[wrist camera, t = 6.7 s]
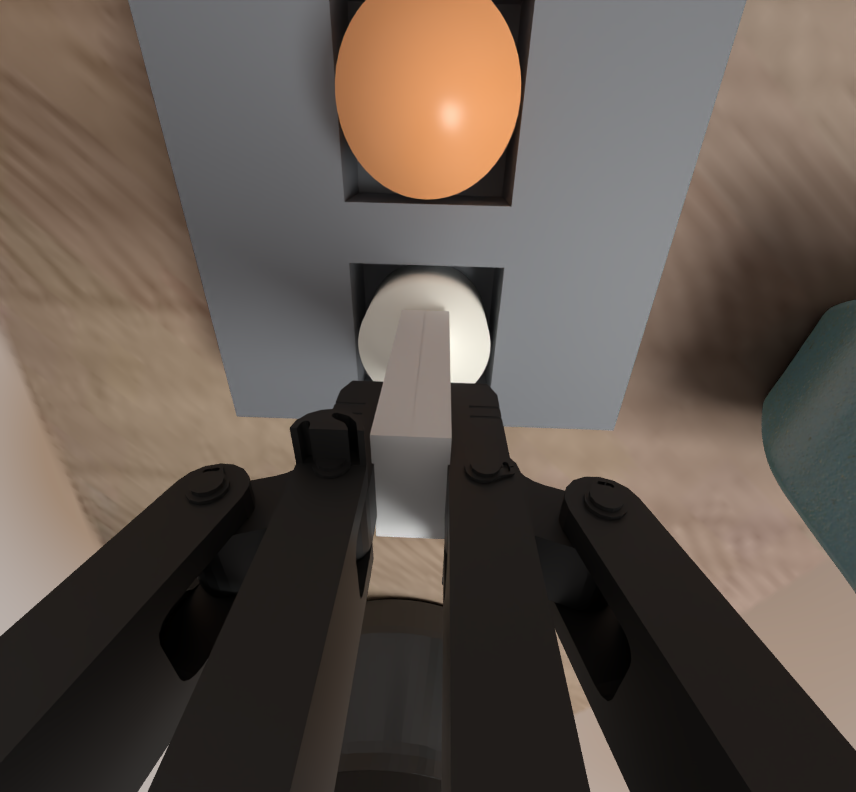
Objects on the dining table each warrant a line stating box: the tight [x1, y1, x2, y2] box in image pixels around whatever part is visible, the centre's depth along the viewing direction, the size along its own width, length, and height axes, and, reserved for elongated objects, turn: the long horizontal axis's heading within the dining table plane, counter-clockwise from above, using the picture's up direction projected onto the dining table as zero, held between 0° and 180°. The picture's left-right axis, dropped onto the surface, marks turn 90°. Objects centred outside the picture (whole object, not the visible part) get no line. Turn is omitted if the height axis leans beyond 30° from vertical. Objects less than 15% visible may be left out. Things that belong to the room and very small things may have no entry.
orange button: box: [335, 0, 521, 200], centre depth 11 cm, size 4×4×3 cm
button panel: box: [128, 0, 746, 430], centre depth 13 cm, size 21×15×4 cm
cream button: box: [358, 265, 490, 383], centre depth 15 cm, size 4×4×3 cm
